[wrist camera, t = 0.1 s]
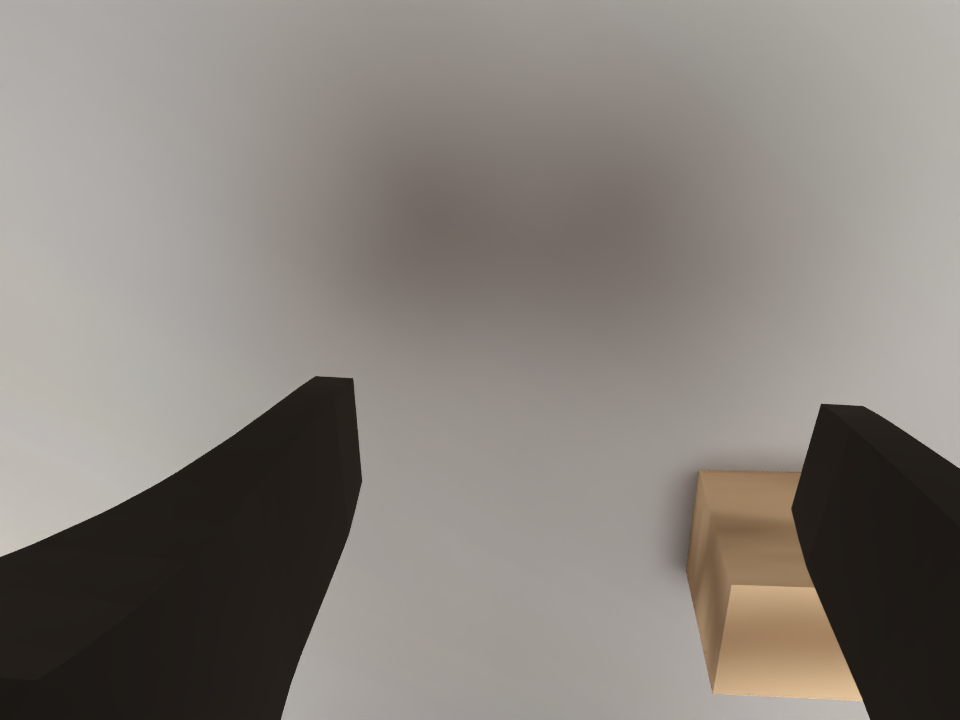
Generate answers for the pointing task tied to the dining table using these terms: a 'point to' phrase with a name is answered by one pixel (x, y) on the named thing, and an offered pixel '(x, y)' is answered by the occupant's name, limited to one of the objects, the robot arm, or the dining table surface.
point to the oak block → (759, 593)
